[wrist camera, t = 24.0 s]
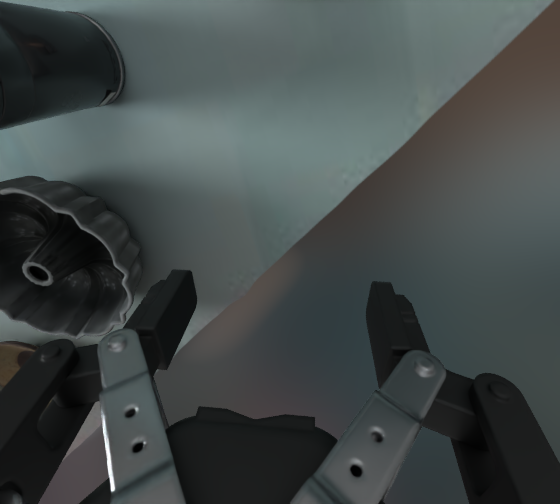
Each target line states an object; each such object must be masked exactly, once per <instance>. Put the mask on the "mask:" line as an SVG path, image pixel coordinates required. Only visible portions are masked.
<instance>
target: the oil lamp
mask: <svg viewBox="0 0 560 504" xmlns="http://www.w3.org/2000/svg"><path fill="white" fill-rule="evenodd" d="M38 348H40V347H38V346H35V345H31V344H27V343H23V342H18V341H4V342H0V385H1V386H3V387H4V386H5V385H6V384H7V383H8V382H9V381H10V380H11V378H12V377H13V376H14V375H15V374H16V373H17V371H18V370H19V369H20V368H21V367H22V366H23V364H24V363H25V362H26V361H27V360H28V359H29V357H30V356H31V355H32V354H33V353H34V352H35V351H36V350H37V349H38ZM52 399H53V398H52ZM50 402H51V401H50ZM48 405H49V404H48ZM48 405H47V406H48ZM46 408H47V407H46Z"/></svg>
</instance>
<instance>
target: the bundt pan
mask: <svg viewBox="0 0 560 504" xmlns="http://www.w3.org/2000/svg"><path fill="white" fill-rule="evenodd" d="M139 252H140V244H139V243H138V242H137V241H136V240H134V239H133V238H131V237H130V232H129V228H128V226H127V224H126V222H125V221H124V220H123V219H122V218H121V217H120V216H119V215H117V214H115V213H113V212H110V211H107V208H106V206H105V203H104V201H103V199H102V198H100V197H89V196H87V195H86V194H85V193H84V192H83V191H82V190H81V189H80V188H78V187H76V186H75V185H72V184H70V183H67V182H62V181H47V180H45V179H43V178H40V177H37V176H25V177H20V178H16V179H11V180H7V181H3V182H0V311H2V312H3V313H4V314H6V315H7V316H8V318H9V319H11V320H12V321H15V322H20V323H25V324H27V325H28V326H30V327H32V328H34V329H36V330H38V331H40V332H43V333H46V334H50V335H68V336H70V337H73V338H75V339H80V338H81V337H83V336H85V335H87V336H101V335H105V334H107V333H109V332H110V331H111V330H112V329H113V327H114V325H119V324H124V323H125V321H126V315H125V314H126V312H127V311H128V310H129V309H130V308H131V306H132V304H133V301H134V294H135V292H136V287H137V285H138V283H139V281H140V278H141V276H142V263H141V261H140V259H139V257H138V254H139Z"/></svg>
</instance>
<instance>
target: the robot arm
mask: <svg viewBox="0 0 560 504" xmlns="http://www.w3.org/2000/svg"><path fill="white" fill-rule="evenodd" d="M124 81H125V69H124V63H123V59H122V56H121V53H120V51H119V49H118V47H117V45H116V43H115V41H114V40H113V38H112V37H111V36H110V34H109V33H108V32H107V31H106V30H105V29H104V28H103V27H102V26H101V25H100V24H99V23H98V22H96V21H95V20H93V19H92V18H90V17H88V16H86V15H84V14H80V13H76V12H68V11H66V12H63V11H56V10H51V9H45V8H39V7H32V6H26V5H20V4H13V3H7V2H1V1H0V130H3V129H7V128H11V127H14V126H18V125H22V124H26V123H30V122H34V121H38V120H42V119H46V118H50V117H54V116H58V115H62V114H67V113H71V112H75V111H79V110H83V109H87V108H91V107H95V106H99V107H100V106H104V105H107V104H109V103H111V102H113V101H114V100H116V99H117V97H118V96H119V95H120V93H121V91H122V89H123V86H124ZM196 304H197V295H196V290H195V285H194V280H193V275H192V272H191V271H190V270H172V271H171V273H170V274H169V276H168V278H167V279H166V280H160V281H159V282H158V283H156V284H155V285H154V286H152V287H151V288H150V290H149V291H148V293H147V294H146V297H144V298H143V300H142V301H141V304H139V306H138V307H137V309H136V310H135V311H134V313H133V314H132V316H131V317H130V319H129V320H128V321H127V323H126V324H125V326H124V327H123V329H119V330H115V331H113V332H111V333H109V334H108V335H106V336H105V337H104V338H103V339H102V340H101V341H100V342H99V344H94V345H89V346H83V347H78V348H76V347H75V346H74V344H73V342H72V341H70V340H68V339H58V340H54V341H51V342H49V343H46V344H45V345H43V346H41V347H40V348H38V349H37V350H36V351H35V352H34V353H33V354H32V355H31V356H30V357H29V359H28V360H27V361H26V362H25V363H24V364H23V366H22V367H21V368H20V369H19V370H18V371H17V373H16V374H15V375H14V376H13V377H12V378H11V380H10V381H9V382H8V383H7V384H6V385H5V386H4V388H3V389H2V390H1V391H0V504H38V503H39V501H40V499H41V497H42V495H43V494H44V492H45V490H46V488H47V487H48V485H49V483H50V481H51V479H52V478H53V476H54V474H55V472H56V471H57V469H58V467H59V465H60V464H61V462H62V460H63V458H64V457H65V455H66V453H67V451H68V449H69V448H70V446H71V444H72V442H73V441H74V439H75V437H76V435H77V433H78V432H79V430H80V428H81V426H82V425H83V423H84V421H85V419H86V418H87V416H88V414H89V412H90V410H91V409H92V407H93V405H94V403H95V402H97V401H100V408H101V415H102V423H103V431H104V438H105V446H106V452H107V461H108V469H109V476H110V477H109V478H108V479H107V480H106V481H105V482H103V483H102V484H101V485H100V486H99V487H98V488H96V489H95V490H94V491H93V492H92V493H91V494H89V495H88V496H87V497H86V498H85V499H84V500H83V501H81V502H80V503H79V504H385V503H384V502H383V501H384V499H385V497H386V496H387V494H388V492H389V490H390V488H391V485H392V484H393V482H394V480H395V478H396V476H397V474H398V472H399V470H400V468H401V466H402V464H403V462H404V460H405V458H406V457H407V455H408V453H409V451H410V449H411V447H412V445H413V443H414V441H415V439H416V437H417V436H418V434H419V432H420V430H421V428H422V426H423V427H426V428H428V429H431V430H433V431H436V432H438V433H441V434H443V435H445V436H448V437H450V438H451V442H452V445H453V449H454V452H455V456H456V459H457V463H458V466H459V469H460V473H461V476H462V480H463V483H464V487H465V490H466V493H467V497H468V500H469V504H560V463H559V462H558V460H557V458H556V456H555V454H554V452H553V450H552V448H551V447H550V445H549V443H548V441H547V439H546V437H545V435H544V433H543V432H542V430H541V428H540V426H539V424H538V422H537V421H536V419H535V417H534V415H533V413H532V411H531V409H530V407H529V406H528V404H527V402H526V400H525V398H524V396H523V395H522V393H521V392H520V390H519V389H518V388H517V387H516V386H515V385H514V384H513V383H511V382H510V381H508V380H507V379H505V378H503V377H501V376H499V375H496V374H491V373H483V374H479V375H478V376H477V377H476V378H475V380H473V379H470V378H467V377H464V376H461V375H459V374H455V373H453V372H451V371H449V370H447V369H445V367H444V365H443V364H442V363H441V361H440V360H439V359H438V358H436V357H435V356H433V355H432V354H431V353H430V351H429V348H428V345H427V343H426V340H425V338H424V335H423V332H422V330H421V327H420V324H419V323H418V319H417V317H416V315H415V312H414V309H413V306H412V304H411V303H410V302H409V301H408V299H406V297H404V295H396V294H395V292H394V290H393V286H392V284H391V283H390V282H377V281H373V282H372V284H371V289H370V293H369V298H368V303H367V308H366V321H367V327H368V333H369V338H370V343H371V349H372V354H373V359H374V365H375V370H376V375H377V381H378V386H379V389H380V390H379V391H377V390H375V391H374V392H373V393H372V395H371V396H370V397H369V399H368V400H367V401H366V403H365V404H364V406H363V407H362V409H361V410H360V411H359V413H358V414H357V415H356V417H355V418H354V420H353V421H352V422H351V424H350V425H349V426H348V428H347V429H346V431H345V432H344V433H343V435H342V436H341V438H340V439H339V440H337V439H336V438H335V437H333V436H332V435H330V434H329V433H328V432H326V431H324V430H322V429H320V428H317V427H315V417H308V416H296V415H286V414H285V415H279V416H273V417H268V418H261V419H252V418H249V417H246V416H244V415H241V414H239V413H236V412H233V411H231V410H228V409H222V408H212V407H201V406H200V407H199V408H198V411H197V414H196V416H192V417H189V418H185V419H183V420H180V421H178V422H176V423H174V424H173V425H171V426H170V427H169V425H168V422H167V419H166V416H165V413H164V410H163V406H162V403H161V400H160V396H159V393H158V390H157V387H156V383H155V380H154V377H153V376H154V374H155V372H156V370H157V369H161V370H167V369H168V367H169V365H170V362H171V360H172V358H173V356H174V354H175V352H176V350H177V347H178V345H179V343H180V341H181V339H182V337H183V335H184V332H185V330H186V328H187V326H188V324H189V322H190V319H191V317H192V315H193V313H194V311H195V308H196ZM52 398H53V399H52ZM50 401H51V402H50ZM48 404H49V405H48ZM47 405H48V406H47ZM46 407H47V408H46ZM45 408H46V409H45ZM43 411H44V412H43ZM41 414H42V415H41Z"/></svg>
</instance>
